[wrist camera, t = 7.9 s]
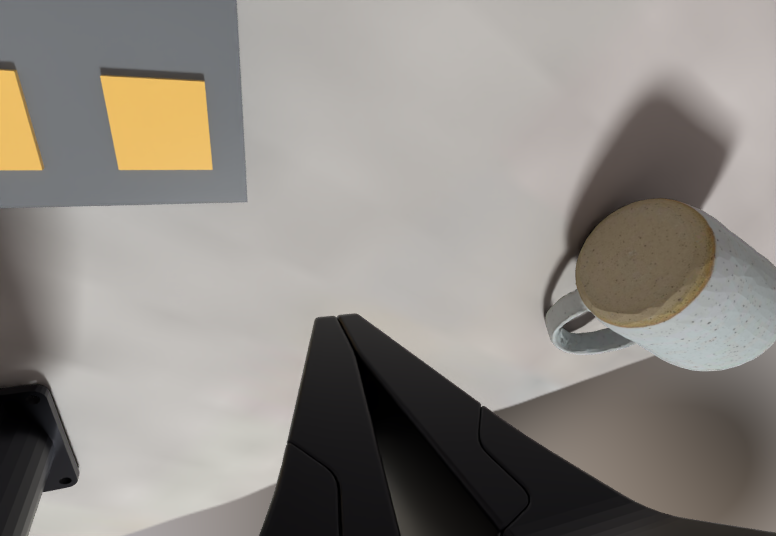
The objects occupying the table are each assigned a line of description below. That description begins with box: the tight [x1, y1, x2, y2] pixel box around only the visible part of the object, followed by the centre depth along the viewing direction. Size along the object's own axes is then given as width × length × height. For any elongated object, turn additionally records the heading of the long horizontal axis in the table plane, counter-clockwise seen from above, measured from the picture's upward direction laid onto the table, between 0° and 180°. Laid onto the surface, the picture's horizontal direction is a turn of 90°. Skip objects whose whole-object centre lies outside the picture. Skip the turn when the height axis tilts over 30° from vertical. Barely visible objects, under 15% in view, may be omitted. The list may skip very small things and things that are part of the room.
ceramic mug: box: [545, 198, 776, 371], centre depth 25 cm, size 11×8×8 cm
